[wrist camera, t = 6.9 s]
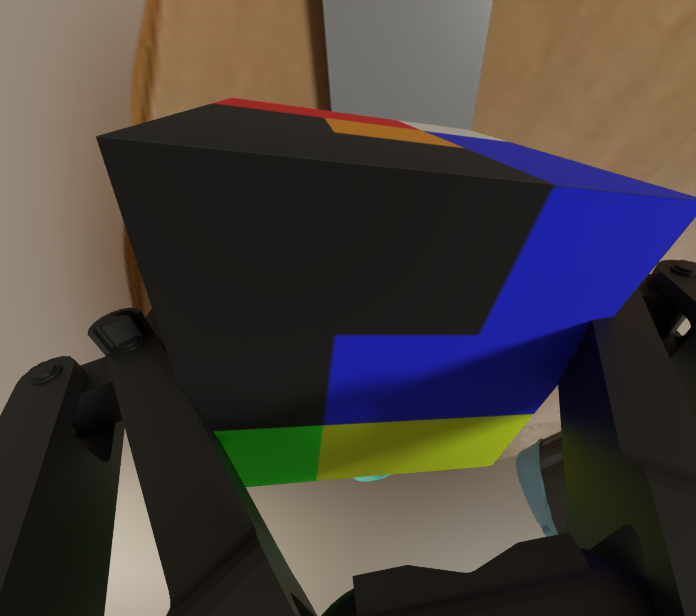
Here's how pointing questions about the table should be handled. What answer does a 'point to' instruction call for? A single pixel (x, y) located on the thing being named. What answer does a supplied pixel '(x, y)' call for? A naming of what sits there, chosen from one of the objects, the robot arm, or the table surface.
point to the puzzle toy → (372, 279)
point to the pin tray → (406, 58)
